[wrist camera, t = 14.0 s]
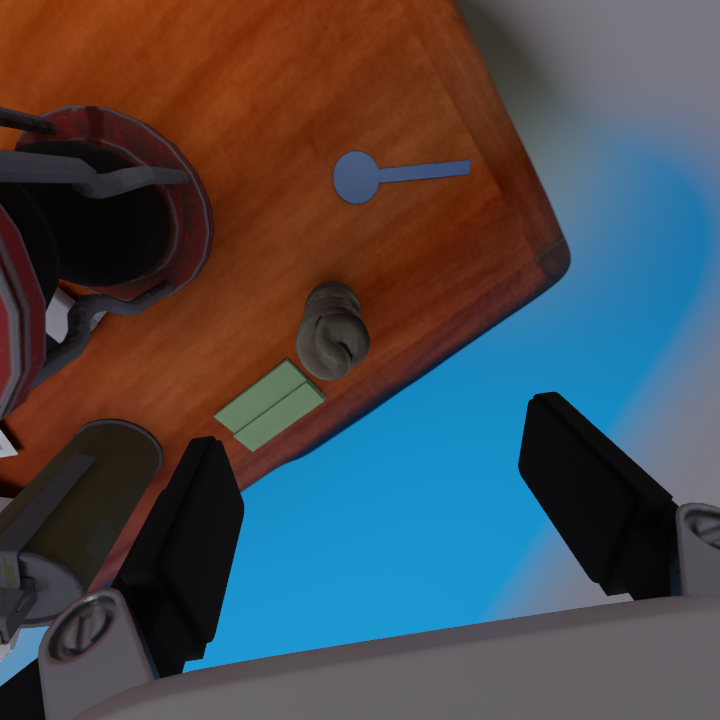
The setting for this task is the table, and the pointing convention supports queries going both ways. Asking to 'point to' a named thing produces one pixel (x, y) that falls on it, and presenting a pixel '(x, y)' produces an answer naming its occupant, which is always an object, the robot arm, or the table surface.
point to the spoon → (383, 175)
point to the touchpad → (6, 446)
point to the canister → (70, 521)
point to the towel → (270, 405)
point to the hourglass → (88, 231)
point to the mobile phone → (62, 318)
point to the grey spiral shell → (332, 332)
